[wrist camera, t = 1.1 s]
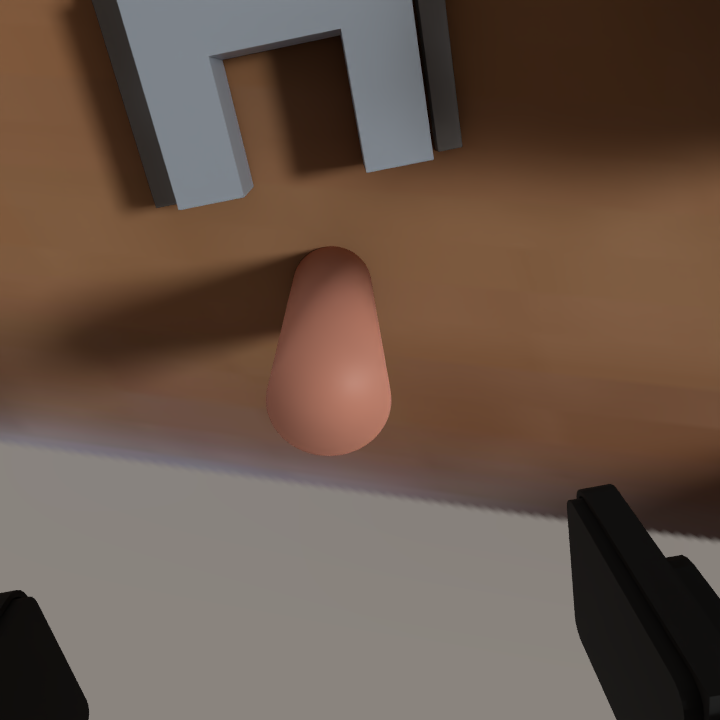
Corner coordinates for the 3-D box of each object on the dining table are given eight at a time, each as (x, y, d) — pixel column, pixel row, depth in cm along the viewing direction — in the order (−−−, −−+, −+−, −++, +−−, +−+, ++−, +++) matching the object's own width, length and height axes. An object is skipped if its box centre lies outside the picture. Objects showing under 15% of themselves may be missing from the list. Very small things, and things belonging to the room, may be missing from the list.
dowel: (363, 239, 29) (379, 332, 18) (377, 314, 30) (400, 444, 19) (284, 254, 29) (252, 356, 18) (302, 328, 30) (282, 465, 19)
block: (392, -67, 24) (400, -88, 21) (423, 152, 27) (433, 159, 24) (135, -12, 25) (109, -25, 22) (194, 198, 28) (178, 210, 25)
